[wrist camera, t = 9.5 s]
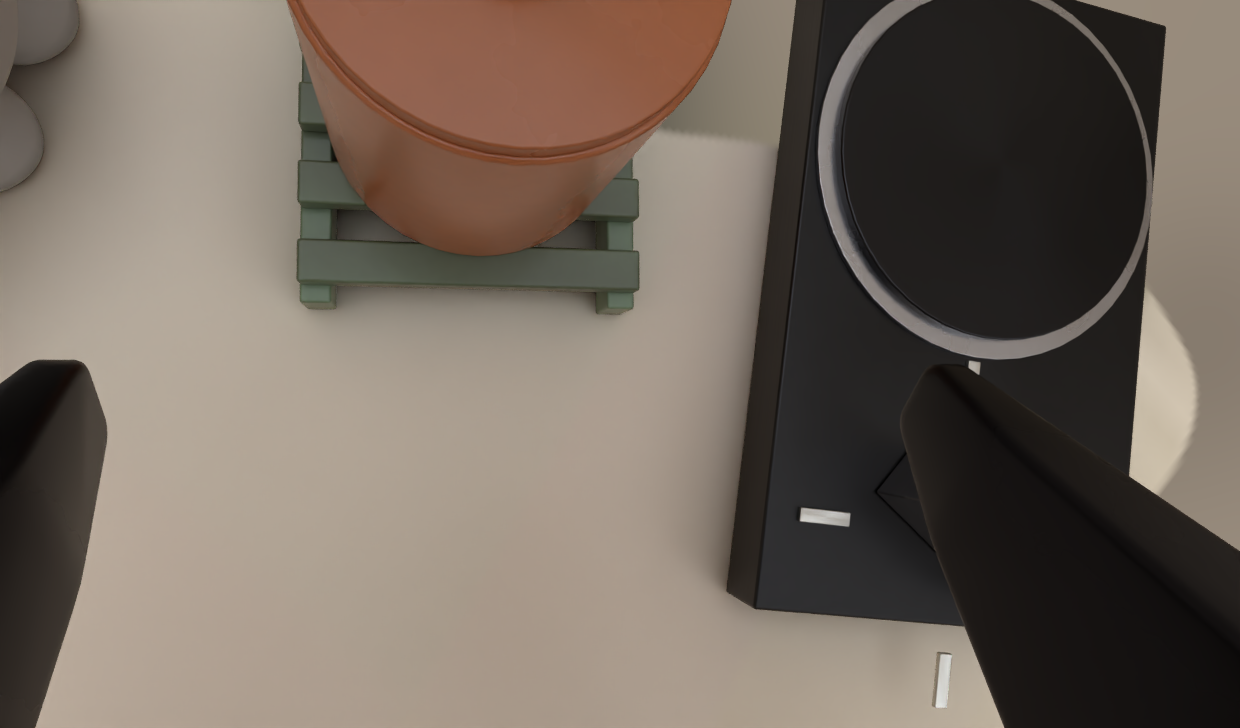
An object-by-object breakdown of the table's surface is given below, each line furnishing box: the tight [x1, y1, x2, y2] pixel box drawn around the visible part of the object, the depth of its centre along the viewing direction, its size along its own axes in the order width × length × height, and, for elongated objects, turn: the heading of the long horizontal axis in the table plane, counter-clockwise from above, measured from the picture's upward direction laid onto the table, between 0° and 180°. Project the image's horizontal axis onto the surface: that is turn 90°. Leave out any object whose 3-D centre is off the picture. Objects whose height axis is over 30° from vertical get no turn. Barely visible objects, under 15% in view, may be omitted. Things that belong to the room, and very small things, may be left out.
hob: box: [727, 0, 1166, 708], centre depth 24 cm, size 20×11×2 cm, turn 172°
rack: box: [297, 42, 639, 314], centre depth 21 cm, size 9×8×3 cm
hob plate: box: [815, 0, 1153, 360], centre depth 23 cm, size 11×11×1 cm
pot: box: [286, 0, 731, 256], centre depth 16 cm, size 7×7×9 cm
